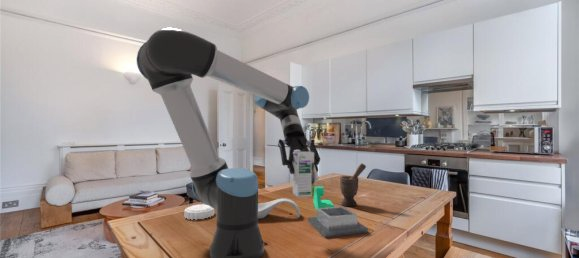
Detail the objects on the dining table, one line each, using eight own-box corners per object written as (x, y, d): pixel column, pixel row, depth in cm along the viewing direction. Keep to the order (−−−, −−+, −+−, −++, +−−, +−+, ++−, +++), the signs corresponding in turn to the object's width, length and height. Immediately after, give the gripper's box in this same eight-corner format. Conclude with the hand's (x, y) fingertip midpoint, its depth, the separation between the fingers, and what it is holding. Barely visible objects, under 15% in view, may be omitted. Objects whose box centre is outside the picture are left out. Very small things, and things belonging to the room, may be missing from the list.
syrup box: (297, 197, 81) (297, 151, 81) (292, 193, 87) (292, 150, 87) (314, 196, 82) (314, 151, 83) (308, 192, 88) (308, 150, 88)
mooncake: (180, 215, 107) (180, 206, 107) (207, 209, 115) (207, 201, 115) (190, 222, 98) (190, 213, 98) (219, 216, 106) (219, 207, 106)
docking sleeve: (325, 237, 83) (324, 221, 84) (308, 221, 99) (308, 207, 99) (367, 232, 88) (367, 216, 88) (345, 217, 103) (345, 204, 103)
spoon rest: (240, 222, 99) (240, 203, 99) (244, 212, 111) (244, 196, 111) (300, 221, 100) (300, 202, 100) (298, 211, 112) (298, 195, 112)
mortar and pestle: (361, 202, 126) (361, 161, 126) (367, 207, 117) (367, 163, 117) (338, 202, 126) (338, 161, 126) (342, 207, 117) (342, 164, 117)
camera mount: (335, 213, 110) (335, 189, 110) (318, 213, 109) (318, 189, 109) (329, 205, 122) (329, 183, 122) (313, 205, 121) (313, 183, 121)
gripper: (313, 137, 102) (330, 186, 86) (267, 136, 97) (276, 188, 81) (318, 123, 97) (337, 172, 81) (270, 122, 92) (280, 174, 76)
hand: (306, 180), depth 81 cm, fingers closed on syrup box, 6 cm apart
